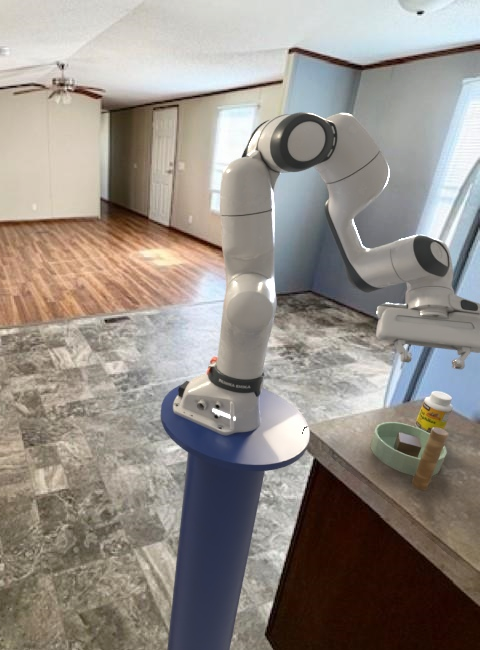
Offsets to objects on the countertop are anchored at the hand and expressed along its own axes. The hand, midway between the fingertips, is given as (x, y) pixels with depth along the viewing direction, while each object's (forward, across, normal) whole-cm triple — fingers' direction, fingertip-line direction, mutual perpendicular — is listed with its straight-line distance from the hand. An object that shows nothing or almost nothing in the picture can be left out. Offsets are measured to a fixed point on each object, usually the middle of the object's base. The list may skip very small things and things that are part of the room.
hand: (431, 364), depth 91 cm
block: (+17, -1, +14) cm, 22 cm away
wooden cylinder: (+25, 0, +7) cm, 26 cm away
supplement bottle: (+9, +8, +24) cm, 26 cm away
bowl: (+18, -1, +14) cm, 23 cm away
